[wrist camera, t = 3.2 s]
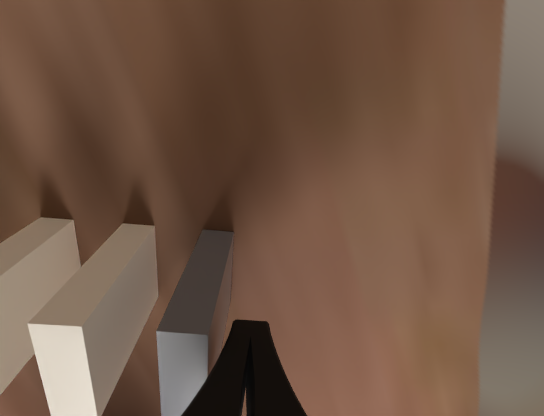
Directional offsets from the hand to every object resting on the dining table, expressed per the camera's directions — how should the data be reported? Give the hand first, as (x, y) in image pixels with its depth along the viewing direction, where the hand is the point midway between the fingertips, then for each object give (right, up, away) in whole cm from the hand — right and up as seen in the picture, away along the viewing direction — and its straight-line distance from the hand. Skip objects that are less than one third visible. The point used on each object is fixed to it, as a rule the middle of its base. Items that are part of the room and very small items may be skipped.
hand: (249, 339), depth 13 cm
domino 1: (-10, +3, +4) cm, 11 cm away
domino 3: (-2, +2, +4) cm, 5 cm away
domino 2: (-6, +2, +4) cm, 8 cm away
